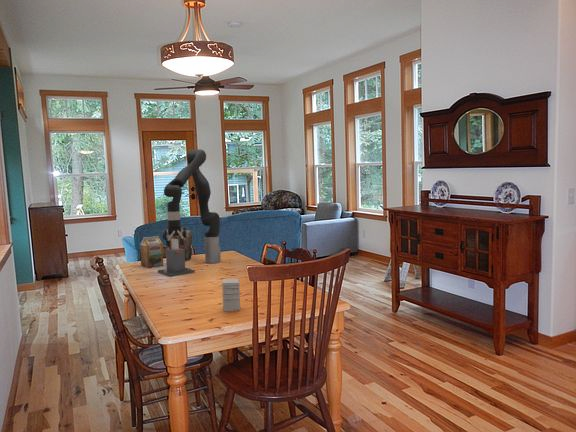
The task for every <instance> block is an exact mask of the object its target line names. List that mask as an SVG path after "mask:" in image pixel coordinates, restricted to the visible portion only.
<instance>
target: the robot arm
mask: <svg viewBox="0 0 576 432" xmlns="http://www.w3.org/2000/svg"><path fill="white" fill-rule="evenodd" d="M206 160H207V153H206V151H205V150H204V149H201V148H200V149H190V150H189V149H188V150H187V153H186V161H187V164H188V165H186V166H184V168H182V169H181V170H179V172H178V173H177V175H176V176H175V177H174V179H172V180H171V181H170V182H168V183H167V184H166V185H165V186H164V188H163V194H164V196H165V197H167V198H172V200H171V201H168V202H167V205H166V206H167V217H166V219H167V229H162V240H163V241H165V244H166V247H167V248H169V247H170V241H169V240H170V239H172V236H179V237H180V245H183V244H184V241H183V239H184V238H186V230H187V229H186V227H182V225H181V224H182V223H181V221H182V220H181V211H180V204H181V201H182V200H181V199H182V195H183V190H182V188H183V187H184V186H185V185H186V183H187V182H188V181H189V179H190V178H191V176H192V180H193V183H194V188H195V192H196V197H197V201H198V206H199V213H200V221H201V223H202V225H203V226H206V227H209V229H208V230H207V231H205V232H204V256H205V257H204V259H205V260H204V261H205V264H217V263H221V261H222V260H221V259H222V258H221V247H220V238H219V237H220V235H219V234H220V230H221V229H220V227H221V225H220V223H221V219H220V215H219V213H217V212H215V211H214V212H212V211H210V208H209V201H210V197H211V194H212V191H211V186H210V182H209V180H208V179H207V178H206V176H205V175H204V174H203V173H202V171H201V169H200V167H201V166H202V165H203V164H204V163H205V162H206ZM181 227H182V228H181ZM181 231H182V234H181V233H180V232H181ZM167 233H168V234H167ZM182 235H183V236H182Z"/></svg>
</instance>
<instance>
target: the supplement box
mask: <svg viewBox="0 0 576 432" xmlns="http://www.w3.org/2000/svg"><path fill="white" fill-rule="evenodd" d="M221 286H222V289H221V290H222V311H223V312H238V311H237V310H240V311H241V296H240V294H241V293H240V292H241V291H240V279H239V278H226V279H222V285H221Z"/></svg>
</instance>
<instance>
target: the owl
mask: <svg viewBox="0 0 576 432" xmlns="http://www.w3.org/2000/svg"><path fill="white" fill-rule="evenodd" d="M180 233H181V234H182V231H181V232H180ZM182 236H183V235H182ZM172 238H176V239H178V244H179V248H180V249H184V250H185V262H189V260H191V259H192V254H193V249H192V242H193V237H192V230H191V229H186V238H184V239H183V241H184V244H183V245H180V237H179V236H172V237H171V239H172Z"/></svg>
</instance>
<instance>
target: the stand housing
mask: <svg viewBox="0 0 576 432" xmlns="http://www.w3.org/2000/svg"><path fill="white" fill-rule="evenodd" d="M165 257H166V258H165V260H166V263H165V264H166V268H163V269H158V270H157V273H158V274H160V275H163V276H166V277H168V278H171V277H177V276H178V277H179V276H182V275H183V276H184V275H188V274H194V273H195V271H196V270H195V269H191V268H189V267H186V261H185V250H184V249H180V248H179V250H172V249H169V248H168V249H167V248H166V249H165Z"/></svg>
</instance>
